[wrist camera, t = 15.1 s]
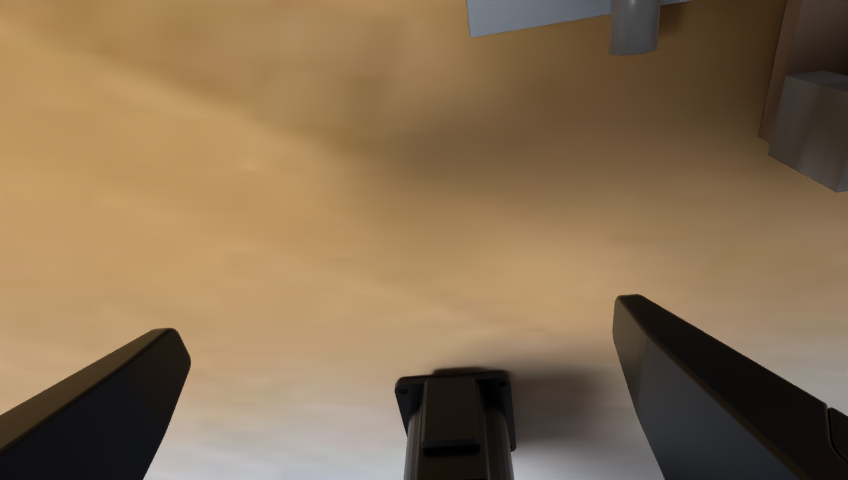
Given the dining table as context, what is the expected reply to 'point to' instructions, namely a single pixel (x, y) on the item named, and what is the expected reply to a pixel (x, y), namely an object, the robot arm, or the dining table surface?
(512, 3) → the mat
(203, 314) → the dining table surface
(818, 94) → the base
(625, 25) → the plug
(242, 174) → the dining table surface
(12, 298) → the dining table surface
